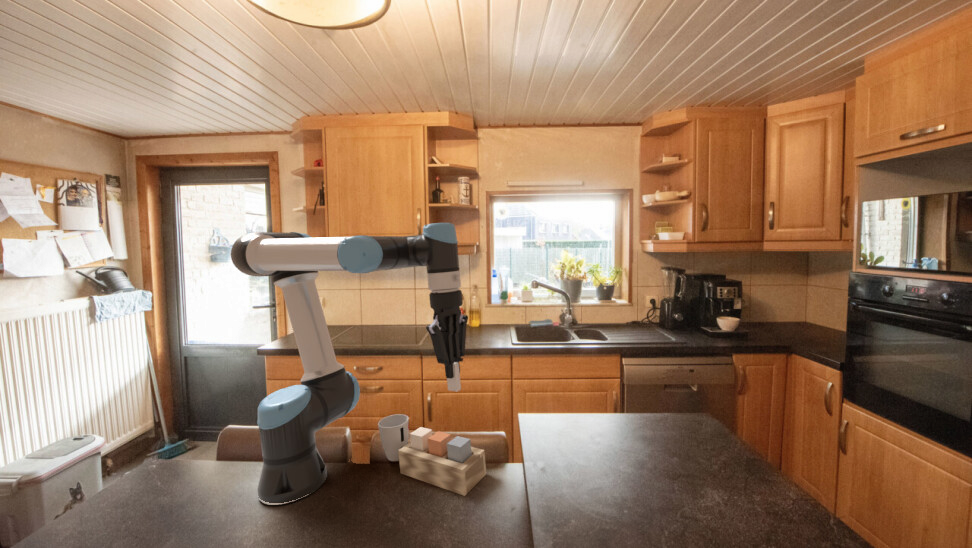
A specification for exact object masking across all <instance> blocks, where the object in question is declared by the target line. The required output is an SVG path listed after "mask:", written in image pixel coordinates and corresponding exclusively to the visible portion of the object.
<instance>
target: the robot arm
mask: <svg viewBox="0 0 972 548" xmlns="http://www.w3.org/2000/svg"><path fill="white" fill-rule="evenodd" d="M457 237H458V236H457V230H456V226H455V225H454V224H453V223H451V222H436V223H435V222H433V223H427V224H424V226H423V227H422V233H421V234H417V235H415V234H414V235H406V236H405V235H404V236H398V235H397V236H396V235H395V236H394V235H388V236H385V235H383V236H381V235H379V236H378V235H363V234H362V235H361V234H360V235H352V236H327V237H325V236H324V237H321V236H320V237H312V236H311V235H310V234H307V233H301V232H295V231H291V232H280V231H279V232H268V231H267V232H264V231H255V232H254V231H253V232H249V233H245V234H244V235H242V236H240V237H239V238H237V239H236V240H235V241H234V243H233V245H232V246H231V249H230V259H231V261H232V264H233V266H234V267H235V268H237V270H239V271H240V272H241V273H242V274H245V275H248V276H251V277H259V278H260V277H271V279H272V282H273V285H274V286H276V287H278V288H279V289H280V290H281V291H282V295H283V299H284V302H285V306H286V311H287V313H288V318H289V321H290V325H291V327H292V331H293V335H294V339H295V342H296V347H297V349H298V353H299V357H300V360H301V364H302V365H301V366H302V368H303V372H304V373H303V375H302V377H301V379H300V384H295V385H289V386H288V387H284V388H280V389H278V390H276V391H273V392H272V393H270V394H268V395H267V396H265V397H264V398H263V399H262V400H261V401H260V402H259V405H258V407H257V427H258V429H259V431H258V432H259V440H260V447H261V455H262V469H261V473H260V475H259V476H260V477H259V482H258V486H257V496H259V497H258V499H259V498H260V499H261V500H263V501H265V502H269V503H284V502H289V501H292V500H296V499H298V498H301V497H303V496H305V495H307V494H310V493H312V492H313V491H315V490H317V489H318V488H319V487H320V486H321V485H322V484H323V483H324V482H326V481H327V479H328V472H327V465H326V464H325V462H324V461H325V460H324V459H323V457H322V456H321V454H320V452H319V450H318V448H317V443H316V433H317V432H318V431H320V430H322V429H323V428H326V427H327V426H329V425H330V424H331V423H333V422H335V421H337V420H339V419H342V418H343V417H345V416H346V415H347V414H348V413H350V412H351V411H353V410H354V409H355V407H357V404H358V403H359V400H360V396H361V390H360V389H361V388H360V383H359V381H358V378H357V377H356V376H353V373H352V372H350V371H347V370H346V367H345V365H344V364H342V363H340V362H338V361H337V358H336V353H335V350H334V346H333V343H332V339H331V335H330V332H329V329H328V324H327V321H326V317H325V314H324V310H323V306H322V302H321V300H320V295H319V292H318V288H317V285H316V280H317V278H318V277H319V272H349V273H351V274H369V273H373V272H379V271H388V270H398V269H399V270H401V269H405V268H406V269H407V268H416V267H417V268H419V267H426V274H427V286H428V287H427V288H428V290H429V291H430V293H429V295H428V296H429V305H430V306H429V307H430V308H431V309H432V310H433V317H432V319H433V321H432V322H431V324H427V325H426V326H425V327H426V331H427V332H428V334H429V336H430V339H431V342H432V343H431V344H432V347H433V351H434V354H435V358H436V361H437V363H438V364H443V365H444V373H445V378H446V381H447V382H446V383H447V390H448V391H449V392H456V393H457V392H459V391H461V390H462V385H461V366H460V362H463V361H464V358H463V357H465V354H466V341H467V340H466V337H467V336H466V335H467V323H468V320H469V316H468V314H465V315H464V314H463V313H462V310H461V308H460V307H462V306H463V293H462V289H460V288H461V287H462V283H461V273H460V272H461V271H460V262H459V259H460V258H459V249H458V244H459V240H458V238H457ZM326 478H327V479H326ZM325 480H326V481H325ZM324 484H325V483H324ZM324 484H323V485H324ZM323 485H322V486H323ZM322 486H321V487H322ZM321 487H320V488H321ZM320 488H319V489H320ZM319 489H318V490H319ZM318 490H317V491H318ZM315 492H316V491H315ZM312 494H313V493H312Z"/></svg>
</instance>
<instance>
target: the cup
mask: <svg viewBox="0 0 972 548" xmlns="http://www.w3.org/2000/svg"><path fill="white" fill-rule="evenodd" d="M409 419H410V418H409V416H408V415H406V414H404V413H403V414H400V413H399V414H398V413H397V414H396V413H395V414H391V415H388V416H385V417H383V418H381V419H380V420H379V421H378V423H377V426H378V431H379V437H380V438H379V439H380V441H381V445H382V448H383V451H384V454H385V457H386V458H387V460H388V461H390V462H399V453H398V450H399V449H401V448H402V447H404V446H405V445H407V444H408V443H410V442H409V441H410V424H409V423H410V421H409Z"/></svg>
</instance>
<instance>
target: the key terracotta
mask: <svg viewBox="0 0 972 548" xmlns="http://www.w3.org/2000/svg"><path fill="white" fill-rule="evenodd" d="M451 440H452V435H451V434H450V433H446V432H443V431H439V430H438V431H436V432H435V433H434V434H433V435H432V436H431V437H429V438H428V447H429V454H431V455H435V456H438V457H441V458H442V457H443V456H445V455H446V454H447V453H448V450H447V443H448V442H450V441H451Z"/></svg>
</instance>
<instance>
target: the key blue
mask: <svg viewBox="0 0 972 548" xmlns="http://www.w3.org/2000/svg"><path fill="white" fill-rule="evenodd" d="M471 443H472V441H471V438H467V437H463V436H459V435H456V436H455V437H454V438H453V439H452V438H451V441H450V442H448V443H447V450H448V460H452V461H455V462H458V463H464V462H465V461H466V460H467V459H468V458H469V457H470V456H472V451H471V447H472V444H471Z"/></svg>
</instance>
